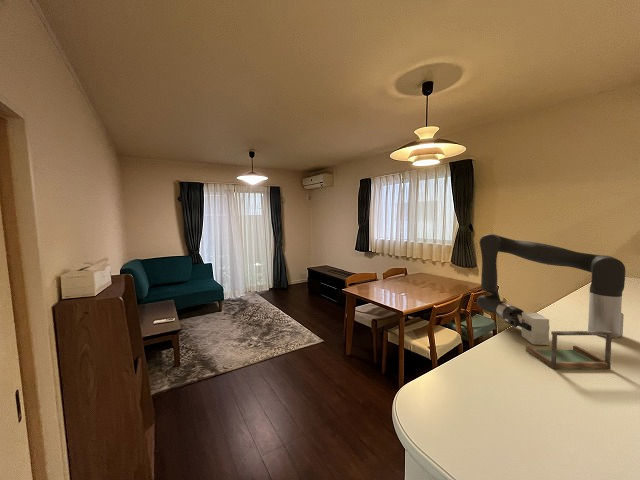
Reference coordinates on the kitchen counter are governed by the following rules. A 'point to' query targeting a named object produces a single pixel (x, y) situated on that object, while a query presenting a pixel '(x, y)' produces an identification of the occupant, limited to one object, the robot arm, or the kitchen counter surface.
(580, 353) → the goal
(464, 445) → the kitchen counter surface
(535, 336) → the small box
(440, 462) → the kitchen counter surface
